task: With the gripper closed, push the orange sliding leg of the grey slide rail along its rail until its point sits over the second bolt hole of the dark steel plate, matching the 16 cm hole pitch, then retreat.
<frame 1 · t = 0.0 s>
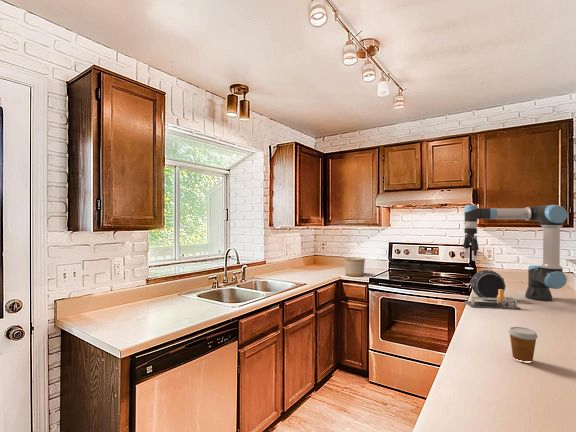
hand: (470, 259, 226), 28 cm above the counter, fingers open, 13 cm apart
grey slide rail: (493, 307, 209), resting on bolt plate
disposable coffee cup: (522, 360, 133), on the counter
bolt plate: (491, 305, 213), on the counter
studded round pot: (487, 299, 229), on the counter
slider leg: (500, 297, 210), point 6 cm above the counter, slide at 2.0 cm
planter: (354, 275, 319), on the counter
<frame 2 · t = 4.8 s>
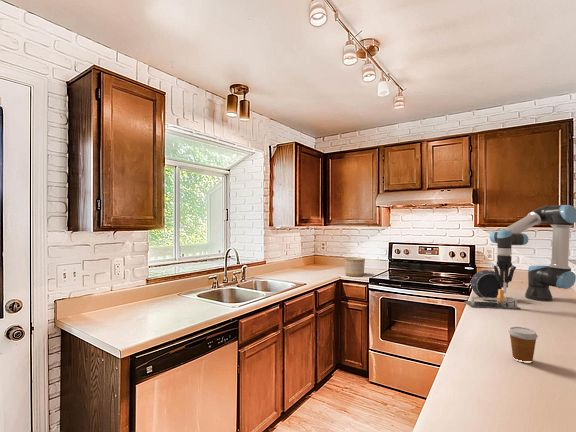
hand: (503, 292, 208), 10 cm above the counter, fingers closed
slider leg: (500, 297, 210), point 6 cm above the counter, slide at 2.0 cm, touching gripper
everything else where it was.
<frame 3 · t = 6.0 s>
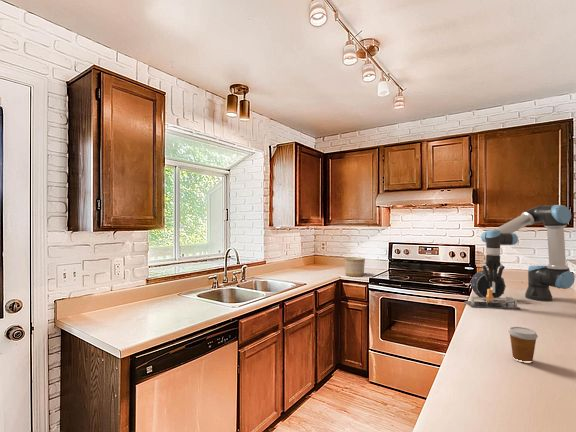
hand: (492, 292, 209), 10 cm above the counter, fingers closed
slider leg: (488, 296, 211), point 6 cm above the counter, slide at 8.5 cm, touching gripper
everything else where it was.
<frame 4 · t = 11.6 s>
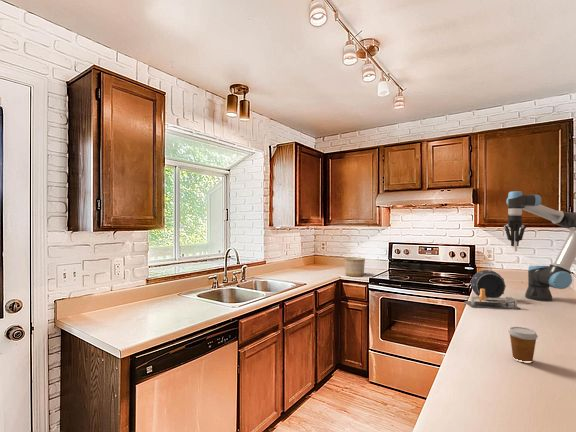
hand: (514, 251, 217), 34 cm above the counter, fingers closed
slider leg: (481, 296, 211), point 6 cm above the counter, slide at 12.7 cm
everything else where it was.
at the end: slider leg slide at 12.7 cm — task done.
